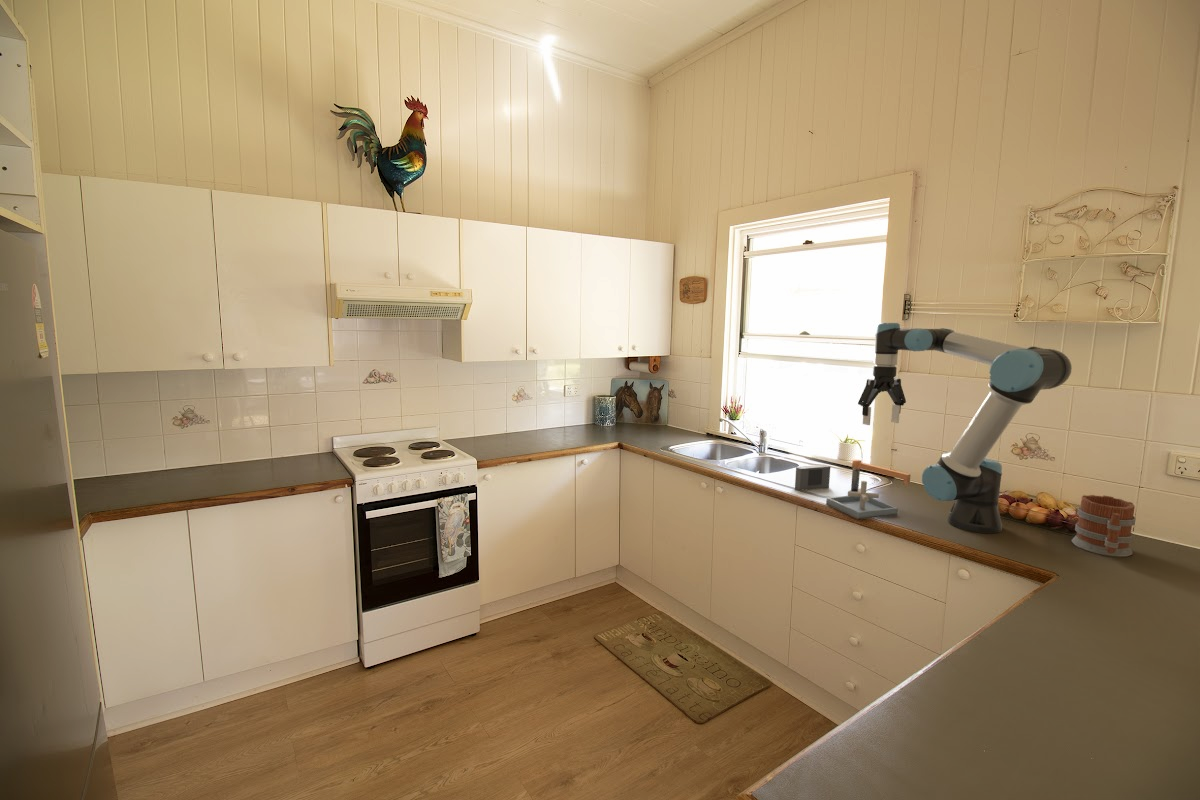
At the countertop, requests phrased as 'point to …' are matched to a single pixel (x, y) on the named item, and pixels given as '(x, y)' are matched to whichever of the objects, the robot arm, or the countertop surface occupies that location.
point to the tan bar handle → (881, 470)
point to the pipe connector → (863, 494)
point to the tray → (852, 508)
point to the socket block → (812, 477)
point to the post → (855, 480)
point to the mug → (1105, 526)
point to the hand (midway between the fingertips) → (880, 423)
